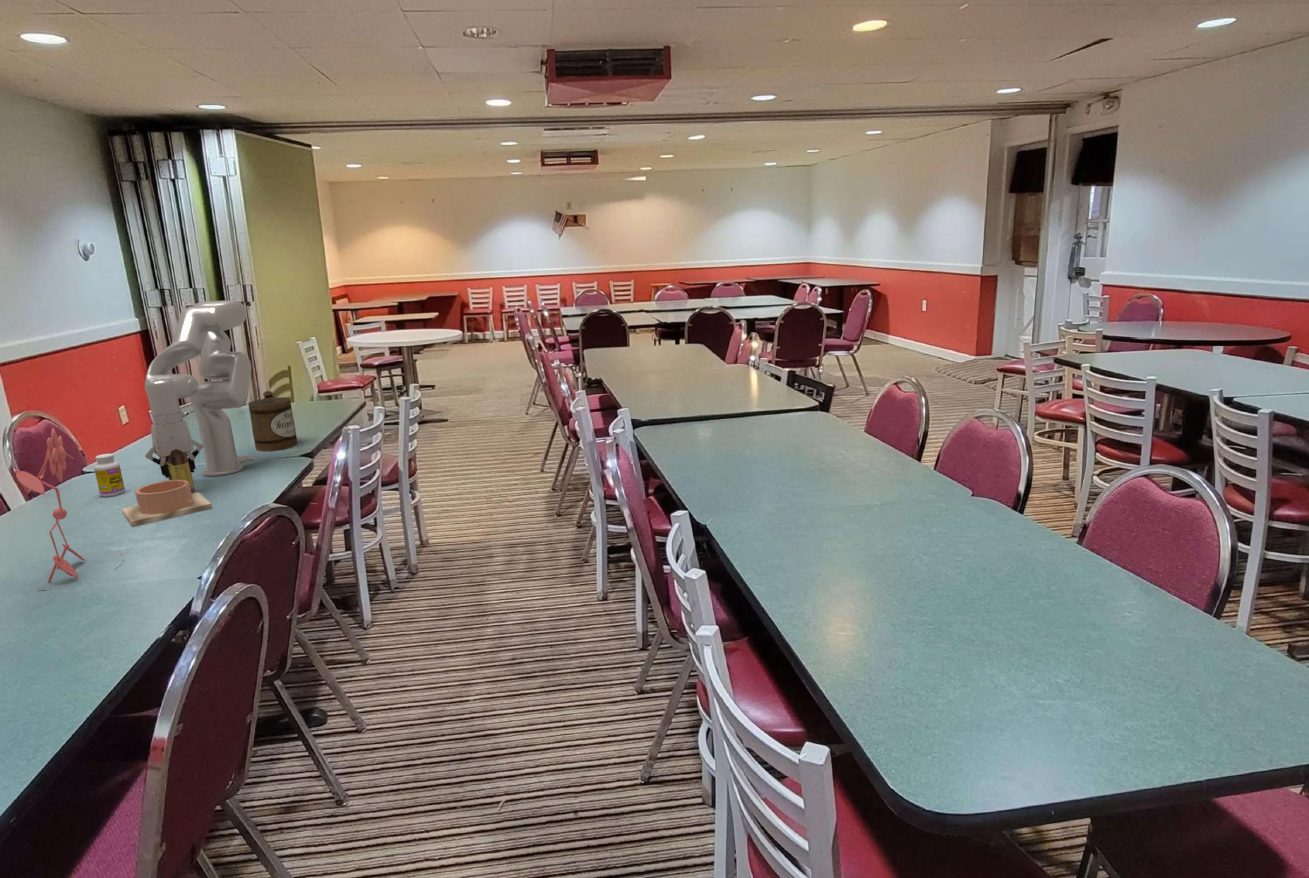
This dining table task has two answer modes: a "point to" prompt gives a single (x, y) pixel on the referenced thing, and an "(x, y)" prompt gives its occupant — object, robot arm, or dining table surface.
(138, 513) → the birch board
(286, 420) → the wooden container
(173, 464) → the sauce bottle
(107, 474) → the supplement bottle
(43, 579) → the dining table surface
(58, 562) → the figurine
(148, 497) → the jar collar
